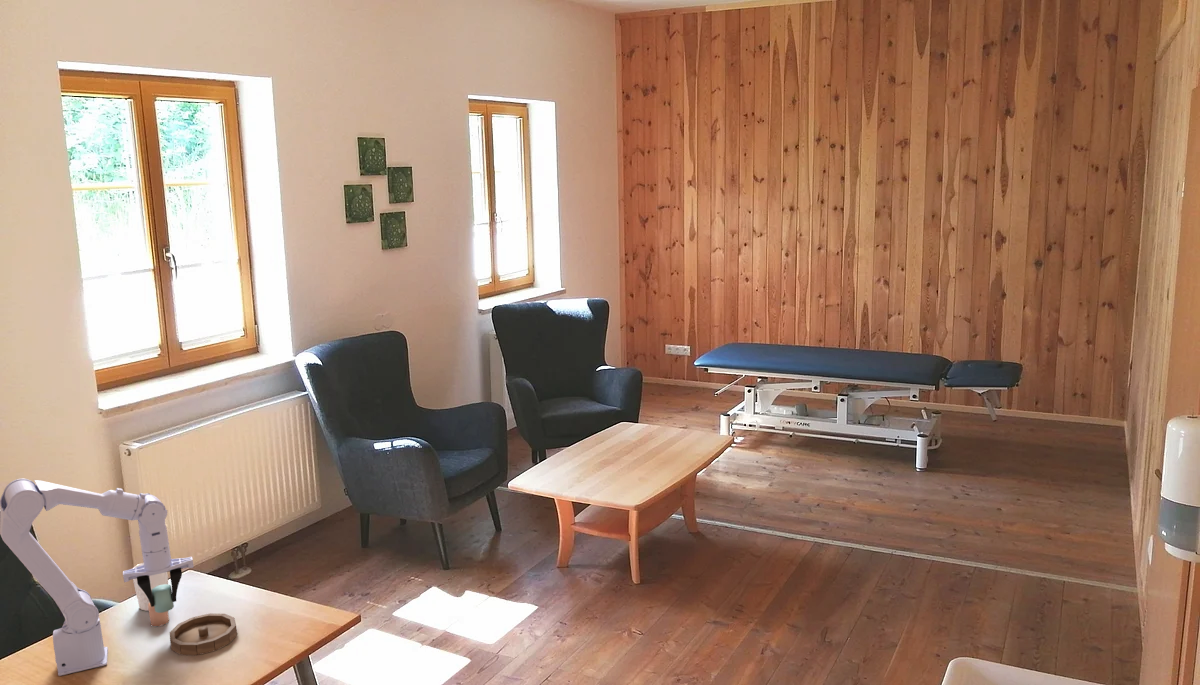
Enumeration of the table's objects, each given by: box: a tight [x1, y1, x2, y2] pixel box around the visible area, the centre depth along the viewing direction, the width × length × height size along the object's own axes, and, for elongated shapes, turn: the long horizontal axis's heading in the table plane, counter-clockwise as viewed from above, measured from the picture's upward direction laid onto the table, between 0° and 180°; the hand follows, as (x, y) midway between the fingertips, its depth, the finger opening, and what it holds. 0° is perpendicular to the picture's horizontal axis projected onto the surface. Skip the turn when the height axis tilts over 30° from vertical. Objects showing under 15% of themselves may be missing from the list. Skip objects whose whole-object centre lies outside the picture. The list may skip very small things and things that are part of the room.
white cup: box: [132, 562, 169, 612], centre depth 237 cm, size 8×8×10 cm
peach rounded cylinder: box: [148, 603, 170, 627], centre depth 229 cm, size 4×4×5 cm
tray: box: [169, 613, 238, 656], centre depth 221 cm, size 14×14×2 cm
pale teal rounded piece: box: [152, 583, 175, 613], centre depth 221 cm, size 4×4×5 cm
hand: (163, 602), depth 221 cm, fingers closed on pale teal rounded piece, 4 cm apart
